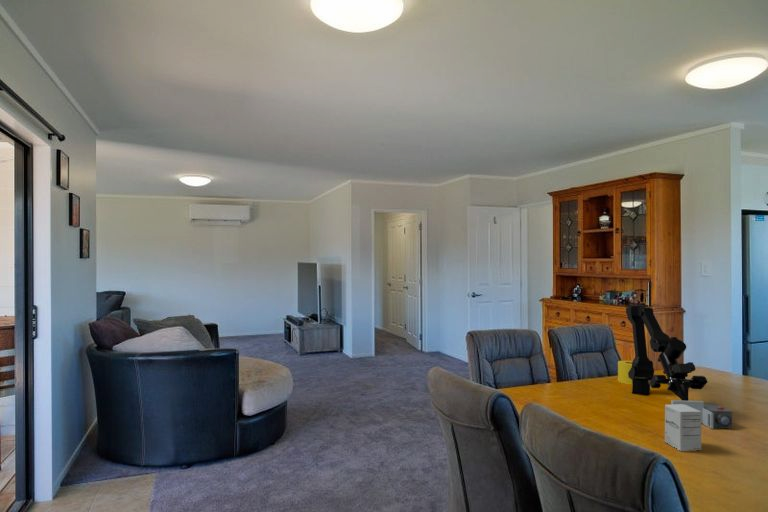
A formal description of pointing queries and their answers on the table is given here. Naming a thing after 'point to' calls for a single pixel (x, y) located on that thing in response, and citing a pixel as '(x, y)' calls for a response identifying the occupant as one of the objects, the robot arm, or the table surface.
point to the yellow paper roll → (624, 371)
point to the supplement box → (683, 427)
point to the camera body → (719, 415)
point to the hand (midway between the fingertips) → (686, 402)
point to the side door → (699, 405)
